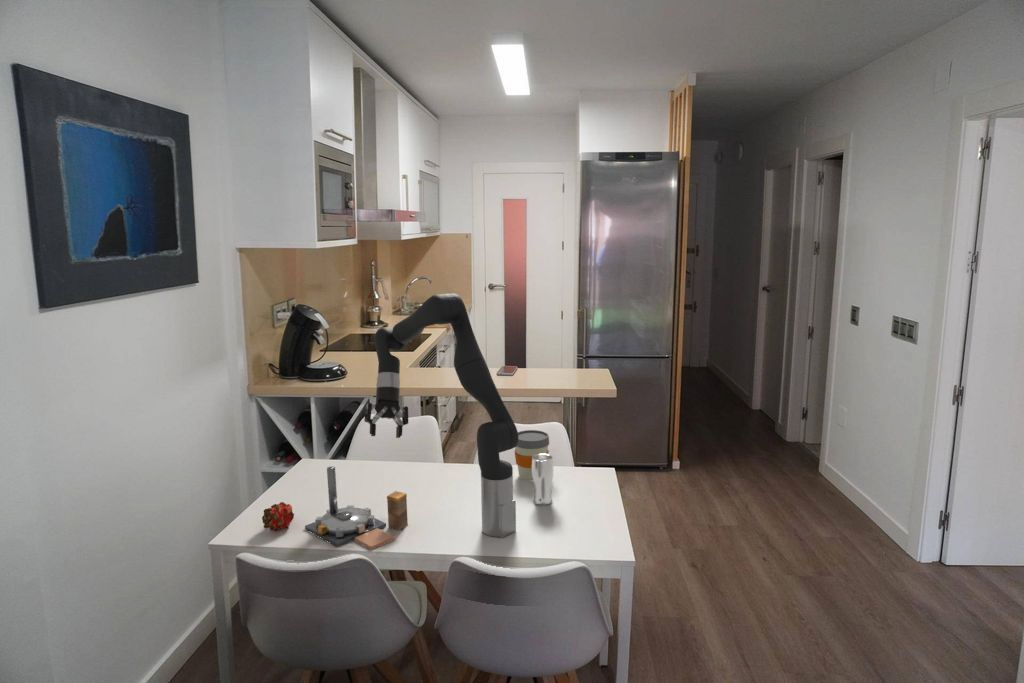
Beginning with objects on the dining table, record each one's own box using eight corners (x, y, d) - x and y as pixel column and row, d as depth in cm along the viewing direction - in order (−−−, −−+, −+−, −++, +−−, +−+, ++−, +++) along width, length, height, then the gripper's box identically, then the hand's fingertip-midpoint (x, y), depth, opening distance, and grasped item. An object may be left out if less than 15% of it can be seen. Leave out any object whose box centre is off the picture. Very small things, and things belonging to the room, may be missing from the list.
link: (407, 524, 204) (406, 493, 202) (399, 530, 201) (398, 498, 199) (396, 522, 206) (395, 491, 204) (388, 527, 203) (386, 496, 201)
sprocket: (386, 522, 203) (383, 471, 200) (336, 542, 191) (333, 489, 188) (353, 506, 214) (350, 458, 211) (304, 524, 202) (300, 473, 199)
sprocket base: (386, 526, 203) (386, 523, 203) (337, 547, 191) (336, 543, 191) (353, 510, 215) (353, 507, 214) (305, 528, 202) (304, 525, 202)
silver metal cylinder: (528, 503, 218) (527, 459, 215) (537, 495, 224) (537, 452, 221) (548, 507, 215) (547, 462, 212) (557, 499, 221) (557, 455, 218)
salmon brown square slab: (394, 539, 195) (394, 536, 195) (371, 549, 189) (371, 546, 189) (377, 531, 200) (377, 528, 200) (354, 540, 195) (354, 537, 194)
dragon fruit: (265, 543, 197) (287, 530, 209) (286, 528, 196) (308, 516, 207) (249, 518, 198) (273, 506, 210) (271, 503, 196) (293, 492, 208)
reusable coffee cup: (535, 485, 232) (535, 443, 230) (506, 477, 240) (506, 436, 237) (556, 474, 242) (556, 434, 239) (527, 466, 250) (527, 427, 247)
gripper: (371, 383, 218) (368, 434, 214) (412, 387, 225) (410, 437, 221) (363, 387, 224) (360, 436, 220) (404, 391, 231) (402, 439, 227)
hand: (385, 436), depth 220 cm, fingers open, 8 cm apart
